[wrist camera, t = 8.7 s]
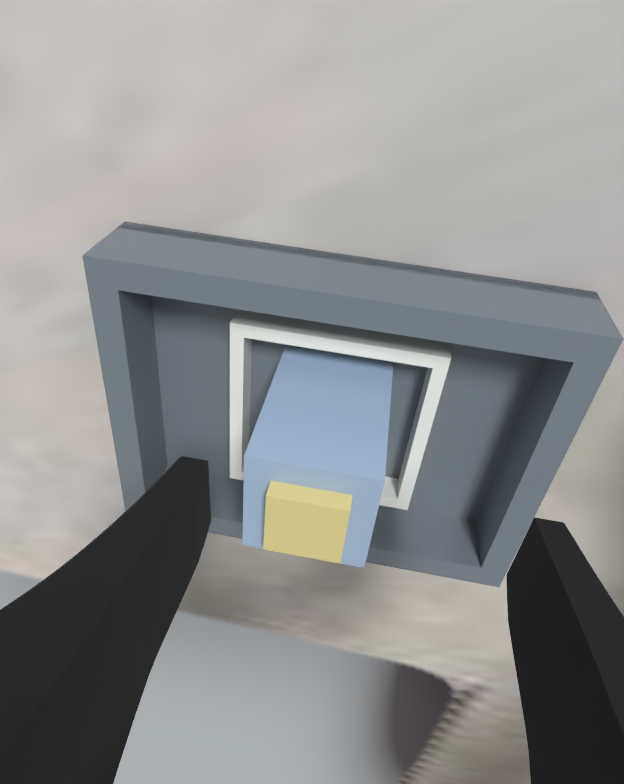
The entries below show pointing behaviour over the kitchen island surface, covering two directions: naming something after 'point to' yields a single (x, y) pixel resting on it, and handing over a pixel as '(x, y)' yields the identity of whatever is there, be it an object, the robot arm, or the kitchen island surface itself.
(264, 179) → the kitchen island surface
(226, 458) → the dock
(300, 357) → the plug
